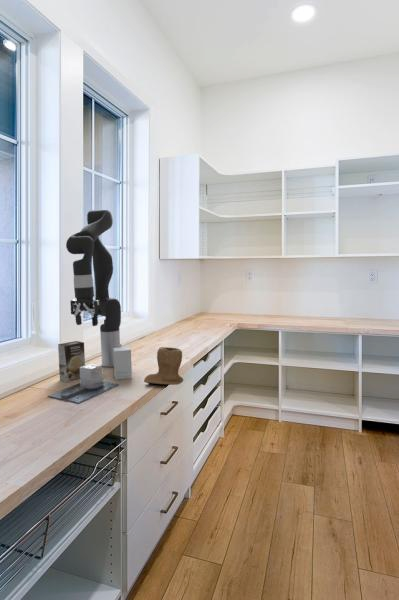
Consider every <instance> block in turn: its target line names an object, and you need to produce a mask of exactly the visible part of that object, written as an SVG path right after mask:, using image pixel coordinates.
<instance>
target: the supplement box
mask: <svg viewBox="0 0 399 600" xmlns="http://www.w3.org/2000/svg"><path fill="white" fill-rule="evenodd" d="M113 358H114V366H113V374H114V379H115V381H117V380H126V379H127V380H128V379H132V378H133V371H132V370H133V369H132V365H133V364H132V349H131V348H130V346H121V347H120V348H113Z"/></svg>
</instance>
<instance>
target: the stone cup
mask: <svg viewBox="0 0 399 600" xmlns="http://www.w3.org/2000/svg"><path fill="white" fill-rule="evenodd" d="M182 358H183V350H182V349H180V348H177V347H167V346H165V347H164V346H163V347H162V346H161V347H159V348H158V350H157V352H156V362H157V365H158V372H156V373H150V374H148V375H146V377H144V380H143V382H144V383H146V384H147V383H148V384H155V385H174V386H175V385H176V386H177V385H180V384H181V383H183V382H184V377H183V376H180V375H179V372H180V371H179V370H180V367H181V365H182V364H181V363H182V361H183V360H182Z"/></svg>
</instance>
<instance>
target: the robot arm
mask: <svg viewBox="0 0 399 600" xmlns="http://www.w3.org/2000/svg"><path fill="white" fill-rule="evenodd" d="M86 222H87V225H85V226H84V227H83V228H82V229H81V230H80V231H78V232H76V233H74V234H72V235H70V236H69V237H68V238H67V239H66V243H65V244H66V245H65V246H66V250H67V252H68V253H70V254H72V255H83V256H82V258H81V259H78V260H75V261H73V262H72V271H73V288H74V291H73V292H74V298H75V299H70V301H69V302H70V314H71V315H74V317H75V324H76V326H80V325H82V323H83V322H82V313H83V312H87V313H89V314H90V315H91V322H92V326H93V327H97V326H98V324H99V319H98V318H99V317H98V316H101V317H105V318H104V319H105V321H104V323H103V324H101V325H100V326H99V330H100V331H99V332H100V350H101V351H100V354H101V365H102V367H107V368H111V367H113V368H114V358H113V348H120V347H122V344H121V337H120V335H121V334H120V326H121V324H122V322H121V321H122V308H121V302H120V301H119V300H118V299H116V298H114V297H110V295H109V294H110V293H109V286H110V283H111V279H112V277H113V272H114V263H113V256H112V254H111V253H110V251H109V250H108V249H107V247H106V246H105V244H104V243H103V242H102V240H101V239H100V236H101V235H102V234H104V233H105V232H106V231H108V230H109V229H111V228H112V226H113V223H114V221H113V215H112V212H111V210H108V209H96V210H95V209H94V210H93V209H92V210H89V211H88V212H87V214H86ZM92 267H93V268H92ZM92 269H93V270H92ZM92 271H93V273H92ZM93 275H94V279H93ZM94 285H95V288H94ZM94 289H95V290H94ZM94 291H95V292H94ZM94 297H95V300H94Z"/></svg>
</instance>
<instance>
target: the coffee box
mask: <svg viewBox="0 0 399 600" xmlns="http://www.w3.org/2000/svg"><path fill="white" fill-rule="evenodd" d="M57 347H58V349H57V350H58V367H59V368H58V369H59V373H58V374H59V381H60V382H64V383H67V384H68V383H71V382H76V381H80V367H82V366H85V365H86V357H85V355H86V354H85V342H83V341H78V340H74V341H69V342H64V343H58V344H57Z"/></svg>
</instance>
